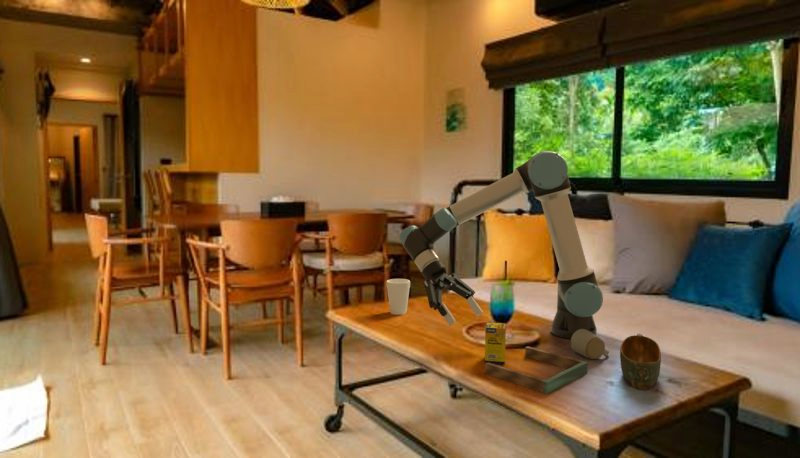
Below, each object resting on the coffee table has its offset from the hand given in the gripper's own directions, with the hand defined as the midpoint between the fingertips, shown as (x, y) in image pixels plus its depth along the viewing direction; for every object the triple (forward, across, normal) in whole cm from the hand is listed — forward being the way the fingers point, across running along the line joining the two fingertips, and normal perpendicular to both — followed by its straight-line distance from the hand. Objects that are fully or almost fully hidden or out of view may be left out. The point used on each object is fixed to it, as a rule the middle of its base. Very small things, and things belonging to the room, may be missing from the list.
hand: (467, 318), depth 171 cm
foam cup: (-28, -18, -43) cm, 54 cm away
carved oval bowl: (+42, -16, +25) cm, 51 cm away
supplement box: (+15, 0, 0) cm, 15 cm away
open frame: (+25, 0, +9) cm, 27 cm away
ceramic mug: (+29, -25, +12) cm, 40 cm away
